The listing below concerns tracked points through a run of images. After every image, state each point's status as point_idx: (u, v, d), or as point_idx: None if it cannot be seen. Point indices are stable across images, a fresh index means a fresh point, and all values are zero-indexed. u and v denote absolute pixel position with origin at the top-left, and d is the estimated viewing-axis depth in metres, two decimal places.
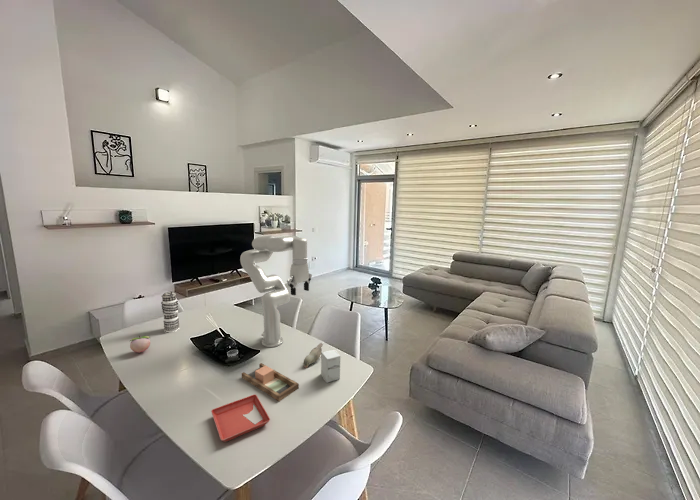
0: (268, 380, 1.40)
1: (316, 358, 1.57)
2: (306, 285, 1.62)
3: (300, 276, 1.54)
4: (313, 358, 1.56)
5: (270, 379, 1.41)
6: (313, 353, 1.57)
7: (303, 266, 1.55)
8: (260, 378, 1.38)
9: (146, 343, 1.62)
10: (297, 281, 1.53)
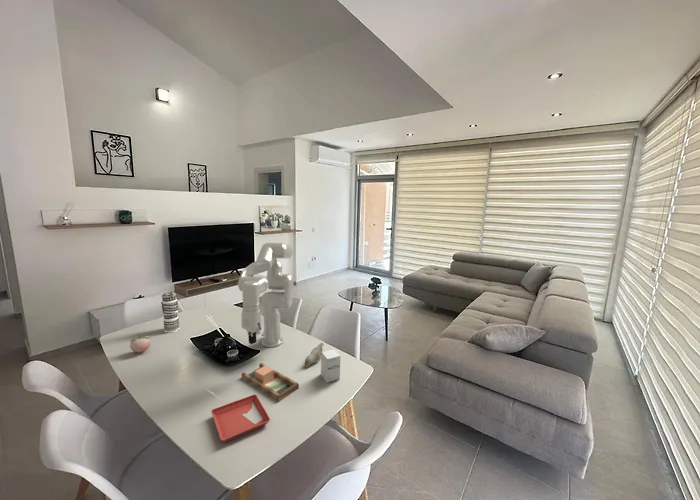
0: (268, 380, 1.40)
1: (317, 358, 1.57)
2: None
3: None
4: (314, 358, 1.56)
5: (270, 379, 1.41)
6: (314, 353, 1.57)
7: None
8: (260, 378, 1.38)
9: (146, 343, 1.62)
10: None
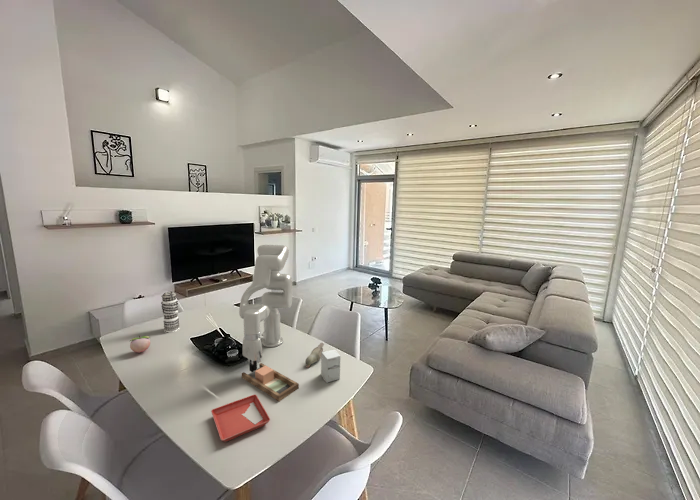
0: (268, 380, 1.40)
1: (318, 358, 1.58)
2: None
3: None
4: (315, 358, 1.56)
5: (270, 379, 1.41)
6: (315, 353, 1.57)
7: None
8: (260, 378, 1.38)
9: (146, 343, 1.62)
10: None
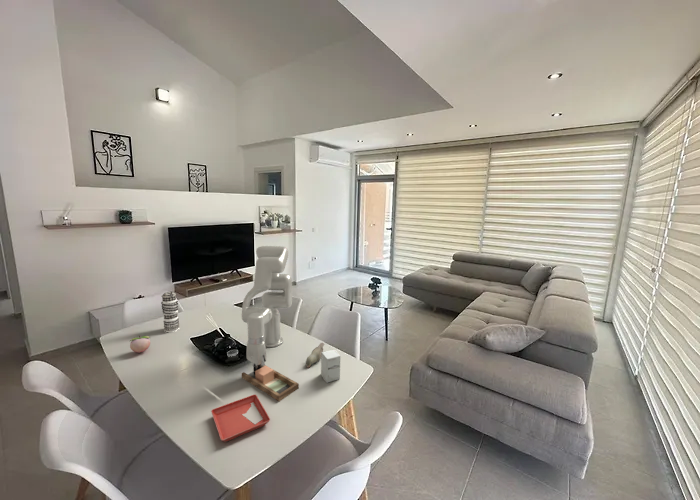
0: (268, 380, 1.40)
1: (318, 358, 1.58)
2: None
3: None
4: (315, 358, 1.56)
5: (270, 379, 1.41)
6: (315, 353, 1.57)
7: None
8: (260, 378, 1.38)
9: (146, 343, 1.62)
10: None
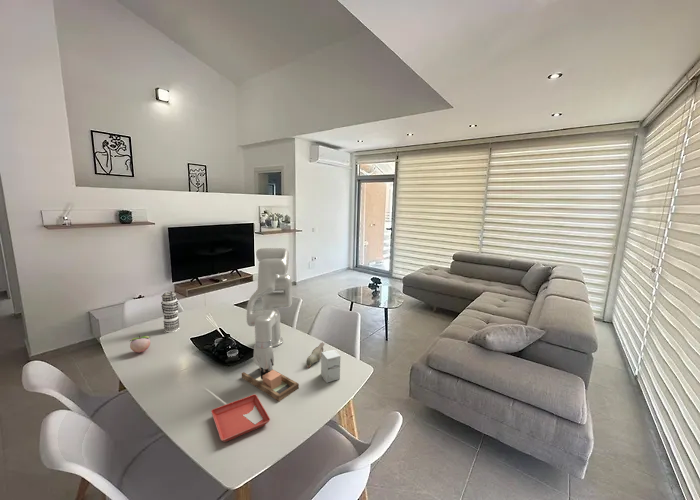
0: (276, 385, 1.36)
1: (318, 357, 1.58)
2: None
3: None
4: (315, 357, 1.56)
5: (278, 384, 1.37)
6: (315, 353, 1.57)
7: None
8: (268, 383, 1.35)
9: (146, 343, 1.62)
10: None
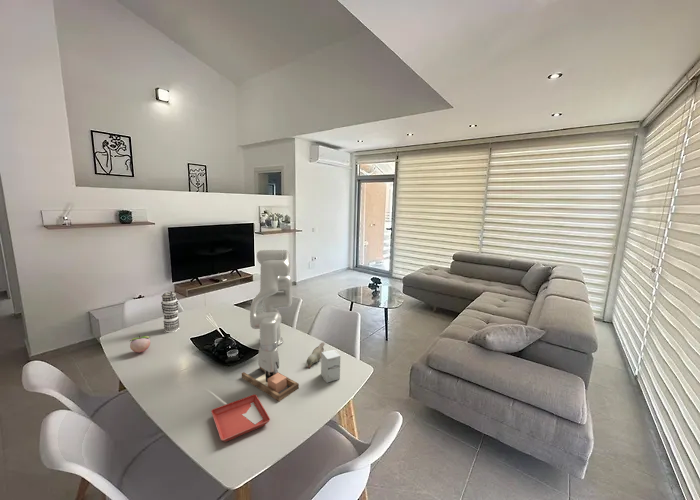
0: (281, 388, 1.34)
1: (319, 357, 1.58)
2: None
3: None
4: (316, 357, 1.56)
5: (283, 387, 1.35)
6: (316, 352, 1.57)
7: None
8: (273, 386, 1.33)
9: (146, 343, 1.62)
10: None
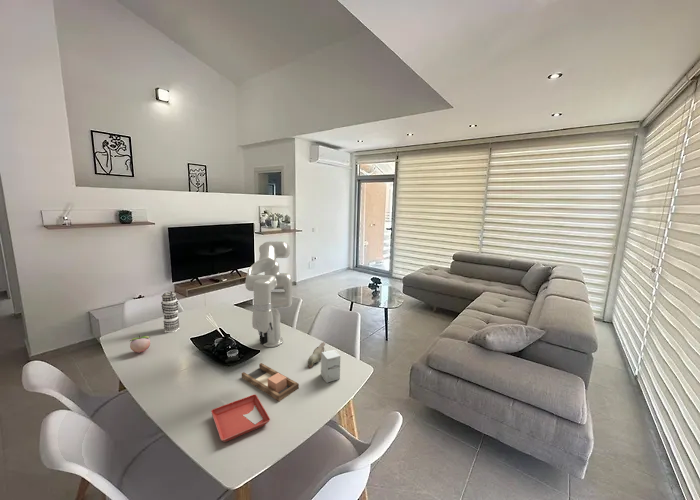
0: (281, 388, 1.34)
1: (320, 357, 1.58)
2: None
3: None
4: (317, 357, 1.57)
5: (283, 387, 1.35)
6: (317, 352, 1.58)
7: None
8: (273, 386, 1.33)
9: (146, 343, 1.62)
10: None
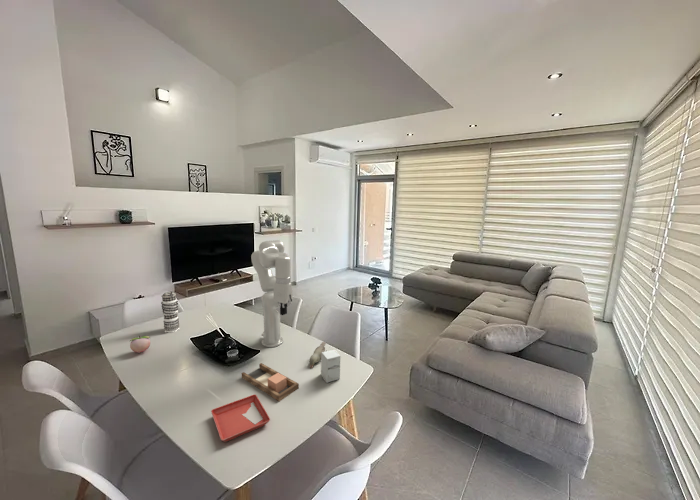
0: (281, 388, 1.34)
1: None
2: None
3: None
4: (318, 357, 1.57)
5: (283, 387, 1.35)
6: (318, 352, 1.58)
7: None
8: (273, 386, 1.33)
9: (146, 343, 1.62)
10: None
